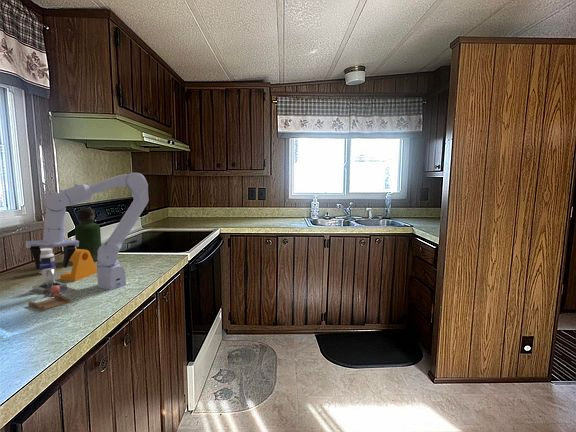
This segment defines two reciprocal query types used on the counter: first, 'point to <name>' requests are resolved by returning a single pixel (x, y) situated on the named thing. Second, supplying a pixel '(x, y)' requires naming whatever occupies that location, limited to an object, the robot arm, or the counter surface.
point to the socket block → (47, 291)
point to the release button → (55, 290)
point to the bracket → (80, 266)
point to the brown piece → (50, 303)
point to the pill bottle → (46, 259)
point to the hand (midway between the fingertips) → (51, 267)
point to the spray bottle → (88, 232)
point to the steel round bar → (48, 277)
